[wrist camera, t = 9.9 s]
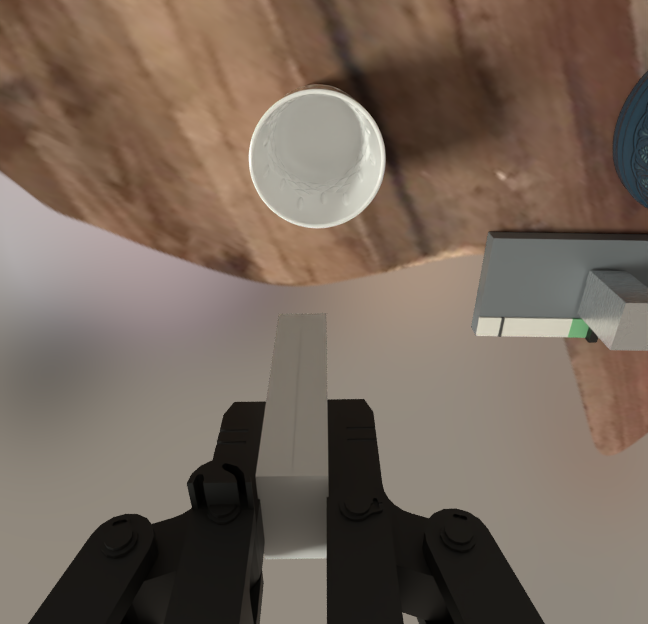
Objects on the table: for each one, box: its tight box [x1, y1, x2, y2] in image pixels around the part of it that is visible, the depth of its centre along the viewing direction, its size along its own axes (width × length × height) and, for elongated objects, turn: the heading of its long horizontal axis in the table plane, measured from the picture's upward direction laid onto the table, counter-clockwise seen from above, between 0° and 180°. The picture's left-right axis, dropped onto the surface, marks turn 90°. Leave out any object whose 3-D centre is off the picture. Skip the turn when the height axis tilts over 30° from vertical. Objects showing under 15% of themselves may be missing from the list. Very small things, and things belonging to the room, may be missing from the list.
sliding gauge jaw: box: [577, 270, 648, 351], centre depth 41 cm, size 3×6×6 cm, turn 179°
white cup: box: [249, 84, 386, 228], centre depth 34 cm, size 8×8×10 cm
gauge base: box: [471, 232, 648, 338], centre depth 41 cm, size 18×9×8 cm, turn 89°
